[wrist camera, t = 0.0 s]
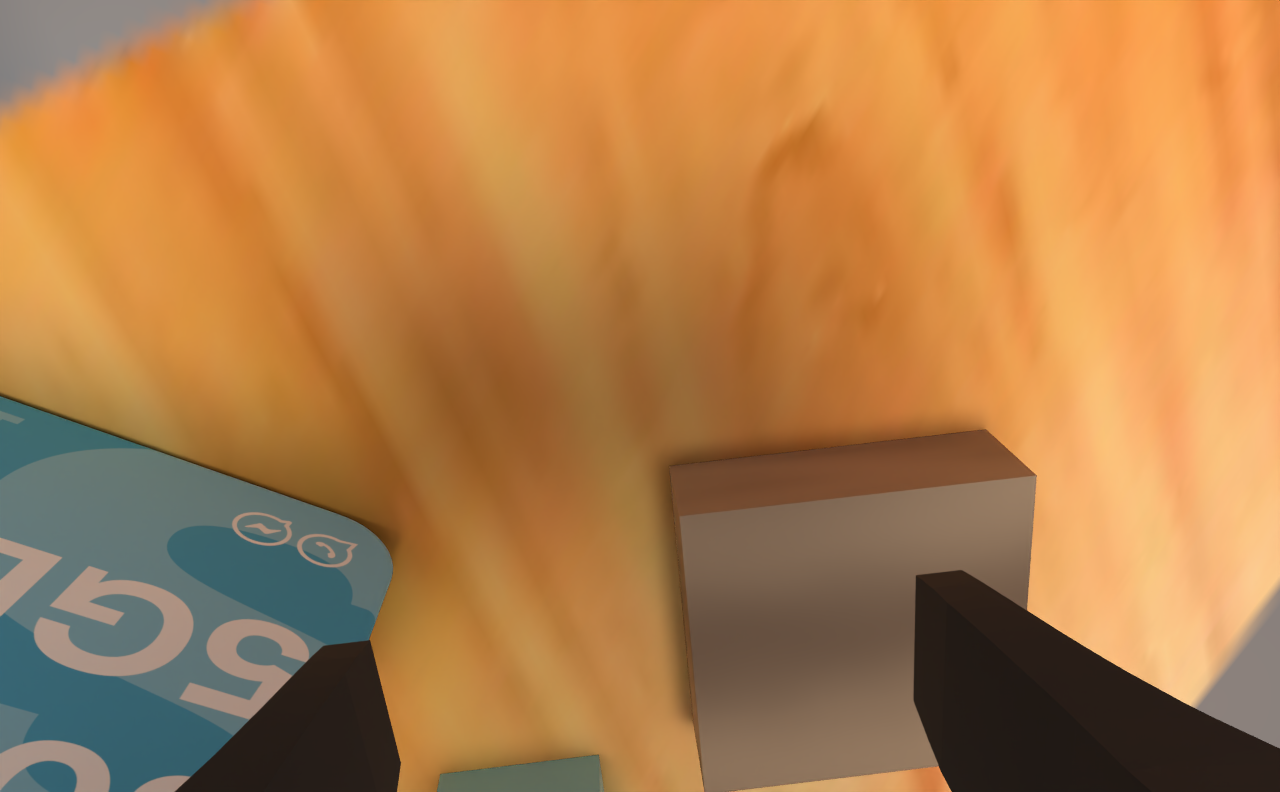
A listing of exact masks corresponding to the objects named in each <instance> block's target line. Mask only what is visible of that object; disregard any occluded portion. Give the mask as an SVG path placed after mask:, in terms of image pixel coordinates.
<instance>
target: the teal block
mask: <svg viewBox="0 0 1280 792" xmlns="http://www.w3.org/2000/svg"><path fill="white" fill-rule="evenodd" d="M437 792H604V787H603V780H602V773H601V766H600V759H599V755H592V756H584V757H576V758H568V759H560V760H551V761H543V762H535V763H527V764H519V765H511V766H502V767H494V768H486V769H478V770H470V771H462V772H454V773H445V774H440V779H439V784H438V789H437Z"/></svg>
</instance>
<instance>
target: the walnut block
mask: <svg viewBox="0 0 1280 792" xmlns="http://www.w3.org/2000/svg"><path fill="white" fill-rule="evenodd" d="M669 471H670V481H671V492H672V503H673V513H674V524H675V535H676V545H677V556H678V566H679V577H680V588H681V598H682V609H683V620H684V630H685V641H686V652H687V662H688V673H689V683H690V694H691V705H692V715H693V724H694V730H695V736H696V743H697V749H698V755H699V761H700V767H701V773H702V779H703V785H704V792H729V791H737V790H745V789H754V788H762V787H770V786H778V785H787V784H795V783H803V782H812V781H820V780H828V779H836V778H845V777H853V776H861V775H869V774H878V773H886V772H894V771H903V770H911V769H919V768H927V767H936V766H939V765H938V763H937V760H936V758H935V755H934V753H933V750H932V748H931V745H930V743H929V741H928V738H927V735H926V733H925V730H924V727H923V725H922V722H921V719H920V717H919V714H918V711H917V709H916V706H915V704H914V701H913V693H914V641H915V590H916V575H922V574H930V573H939V572H947V571H956V570H963V571H964V572H966V573H968V574H970V575H971V576H973V577H975V578H976V579H978V580H980V581H981V582H983V583H985V584H986V585H988V586H989V587H991V588H992V589H994V590H996V591H997V592H999V593H1000V594H1002V595H1003V596H1005V597H1007V598H1008V599H1010V600H1011V601H1013V602H1014V603H1016V604H1017V605H1019V606H1021V607H1022V608H1024V609H1025V610H1027V601H1028V587H1029V573H1030V559H1031V546H1032V532H1033V518H1034V504H1035V490H1036V477H1037V475H1036V474H1034V473H1033V472H1032V471H1031V470H1030V469H1029V468H1028V467H1027V466H1026V465H1024V464H1023V463H1022V462H1021V461H1020V460H1019V459H1018V458H1017V457H1016V456H1015V455H1013V454H1012V453H1011V452H1010V451H1009V450H1008V449H1007V448H1006V447H1005V446H1004V445H1002V444H1001V443H1000V442H999V441H998V440H997V439H996V438H995V437H994V436H993V435H991V434H990V433H989V432H988V431H987V430H977V431H969V432H960V433H951V434H943V435H934V436H925V437H916V438H908V439H899V440H890V441H882V442H873V443H864V444H856V445H847V446H838V447H830V448H821V449H812V450H803V451H795V452H786V453H777V454H769V455H760V456H751V457H743V458H734V459H725V460H717V461H708V462H699V463H690V464H682V465H673V466H669Z"/></svg>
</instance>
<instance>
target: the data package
mask: <svg viewBox="0 0 1280 792" xmlns="http://www.w3.org/2000/svg"><path fill="white" fill-rule="evenodd" d="M392 574H393V563H392V559H391V556H390V553H389V551H388V550H387V548H386V546H385V545H384V544H383V542H382V541H381V540H380V539H379V538H378V537H377V536H376V535H375V534H374V533H373V532H371V531H370V530H369V529H367V528H366V527H364V526H363V525H361V524H359V523H358V522H356V521H354V520H352V519H349V518H347V517H344V516H342V515H339V514H336V513H333V512H331V511H328V510H325V509H322V508H319V507H316V506H313V505H311V504H308V503H305V502H302V501H299V500H296V499H293V498H290V497H288V496H285V495H282V494H279V493H276V492H273V491H270V490H268V489H265V488H262V487H259V486H256V485H253V484H250V483H247V482H245V481H242V480H239V479H236V478H233V477H230V476H227V475H225V474H222V473H219V472H216V471H213V470H210V469H207V468H204V467H202V466H199V465H196V464H193V463H190V462H187V461H184V460H181V459H179V458H176V457H173V456H170V455H167V454H164V453H161V452H159V451H156V450H153V449H150V448H147V447H144V446H141V445H138V444H136V443H133V442H130V441H127V440H124V439H121V438H118V437H116V436H113V435H110V434H107V433H104V432H101V431H98V430H95V429H93V428H90V427H87V426H84V425H81V424H78V423H75V422H73V421H70V420H67V419H64V418H61V417H58V416H55V415H52V414H50V413H47V412H44V411H41V410H38V409H35V408H32V407H29V406H27V405H24V404H21V403H18V402H15V401H12V400H9V399H7V398H4V397H1V396H0V792H175V791H176V790H177V789H178V788H179V787H180V786H181V785H182V784H183V783H184V782H186V781H187V780H188V779H189V778H190V777H191V776H192V775H193V774H194V773H195V772H196V771H197V770H199V769H200V768H201V767H202V766H203V765H204V764H205V763H206V762H207V761H208V760H209V759H210V758H211V757H213V756H214V755H215V754H216V753H217V752H218V751H219V750H220V749H221V748H222V747H223V746H224V745H225V744H226V743H227V742H228V741H229V740H230V739H231V738H232V737H233V736H234V735H235V734H236V733H237V732H238V731H239V730H240V729H241V728H242V727H243V726H244V725H245V724H246V723H247V722H248V721H249V720H250V719H251V718H252V717H253V716H254V715H255V714H256V713H257V712H258V711H259V710H260V709H261V708H262V707H263V706H264V705H265V703H266V702H267V701H268V700H269V699H270V698H271V697H272V696H273V695H274V694H275V693H276V692H277V691H278V690H279V689H280V688H281V687H282V686H283V685H284V684H285V683H286V682H287V681H288V680H289V679H290V678H291V677H292V676H293V675H294V674H295V673H296V672H297V671H298V670H299V669H300V668H301V667H302V666H303V665H304V664H305V663H306V662H307V661H308V660H309V659H310V658H311V657H312V656H313V655H314V654H315V653H316V652H317V651H318V650H319V649H320V648H321V647H322V646H325V645H333V644H342V643H350V642H358V641H367V640H369V638H370V635H371V633H372V630H373V627H374V625H375V622H376V619H377V617H378V614H379V611H380V608H381V606H382V603H383V600H384V598H385V595H386V592H387V590H388V587H389V584H390V581H391V578H392Z"/></svg>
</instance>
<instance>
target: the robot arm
mask: <svg viewBox="0 0 1280 792" xmlns="http://www.w3.org/2000/svg"><path fill="white" fill-rule="evenodd" d="M913 701H914V704H915V706H916V709H917V711H918V714H919V717H920V719H921V722H922V725H923V727H924V730H925V733H926V735H927V738H928V741H929V743H930V745H931V748H932V750H933V753H934V755H935V758H936V760H937V763H938V765H939V768H940V770H941V772H942V774H943V776H944V778H945V780H946V782H947V784H948V786H949V788H950V789H951V791H952V792H1280V748H1277V747H1275V746H1273V745H1271V744H1269V743H1266V742H1264V741H1262V740H1260V739H1258V738H1256V737H1254V736H1251V735H1249V734H1247V733H1245V732H1243V731H1241V730H1239V729H1237V728H1234V727H1232V726H1230V725H1228V724H1226V723H1224V722H1222V721H1219V720H1217V719H1215V718H1213V717H1211V716H1209V715H1207V714H1205V713H1203V712H1201V711H1199V710H1197V709H1195V708H1193V707H1191V706H1189V705H1187V704H1185V703H1183V702H1181V701H1180V700H1178V699H1176V698H1174V697H1172V696H1170V695H1169V694H1167V693H1165V692H1163V691H1161V690H1159V689H1158V688H1156V687H1154V686H1152V685H1150V684H1148V683H1147V682H1145V681H1143V680H1141V679H1139V678H1137V677H1136V676H1134V675H1132V674H1130V673H1128V672H1127V671H1125V670H1123V669H1122V668H1120V667H1118V666H1116V665H1115V664H1113V663H1111V662H1109V661H1108V660H1106V659H1104V658H1103V657H1101V656H1099V655H1098V654H1096V653H1094V652H1093V651H1091V650H1089V649H1088V648H1086V647H1084V646H1083V645H1081V644H1079V643H1078V642H1076V641H1074V640H1073V639H1071V638H1070V637H1068V636H1066V635H1065V634H1063V633H1062V632H1060V631H1058V630H1057V629H1055V628H1054V627H1052V626H1050V625H1049V624H1047V623H1046V622H1044V621H1042V620H1041V619H1039V618H1038V617H1036V616H1035V615H1033V614H1032V613H1030V612H1028V611H1027V610H1025V609H1024V608H1022V607H1021V606H1019V605H1017V604H1016V603H1014V602H1013V601H1011V600H1010V599H1008V598H1007V597H1005V596H1003V595H1002V594H1000V593H999V592H997V591H996V590H994V589H992V588H991V587H989V586H988V585H986V584H985V583H983V582H981V581H980V580H978V579H976V578H975V577H973V576H971V575H970V574H968V573H966V572H964V571H963V570H956V571H947V572H939V573H930V574H922V575H916V590H915V641H914V693H913ZM400 765H401V762H400V758H399V754H398V750H397V746H396V742H395V738H394V734H393V730H392V726H391V722H390V718H389V714H388V710H387V706H386V702H385V698H384V694H383V690H382V686H381V682H380V678H379V674H378V670H377V666H376V662H375V658H374V654H373V650H372V646H371V642H370V640H367V641H358V642H350V643H342V644H333V645H325V646H322V647H321V648H320V649H319V650H318V651H317V652H316V653H315V654H314V655H313V656H312V657H311V658H310V659H309V660H308V661H307V662H306V663H305V664H304V665H303V666H302V667H301V668H300V669H299V670H298V671H297V672H296V673H295V674H294V675H293V676H292V677H291V678H290V679H289V680H288V681H287V682H286V683H285V684H284V685H283V686H282V687H281V688H280V689H279V690H278V691H277V692H276V693H275V694H274V695H273V696H272V697H271V698H270V699H269V700H268V701H267V702H266V703H265V705H264V706H263V707H262V708H261V709H260V710H259V711H258V712H257V713H256V714H255V715H254V716H253V717H252V718H251V719H250V720H249V721H248V722H247V723H246V724H245V725H244V726H243V727H242V728H241V729H240V730H239V731H238V732H237V733H236V734H235V735H234V736H233V737H232V738H231V739H230V740H229V741H228V742H227V743H226V744H225V745H224V746H223V747H222V748H221V749H220V750H219V751H218V752H217V753H216V754H215V755H214V756H213V757H211V758H210V759H209V760H208V761H207V762H206V763H205V764H204V765H203V766H202V767H201V768H200V769H199V770H197V771H196V772H195V773H194V774H193V775H192V776H191V777H190V778H189V779H188V780H187V781H186V782H184V783H183V784H182V785H181V786H180V787H179V788H178V789H177V790H176V791H175V792H397V787H398V780H399V773H400Z"/></svg>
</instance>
